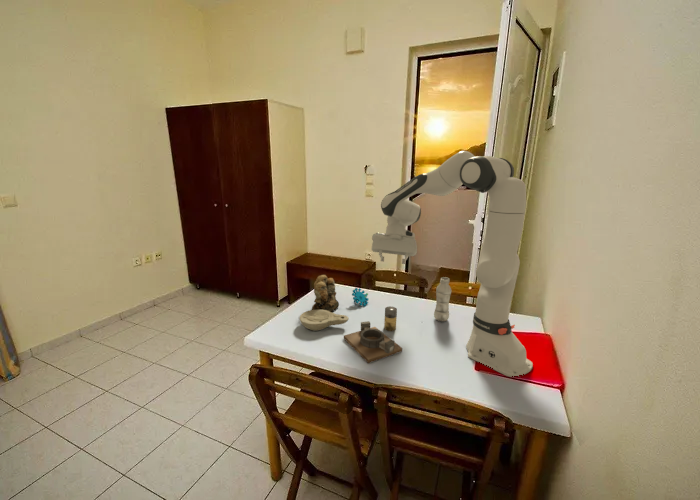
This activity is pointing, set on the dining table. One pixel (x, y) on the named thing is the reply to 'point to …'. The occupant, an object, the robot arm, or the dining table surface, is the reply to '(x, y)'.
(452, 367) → the dining table surface
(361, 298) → the teal virus model
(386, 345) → the shaft seat
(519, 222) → the robot arm
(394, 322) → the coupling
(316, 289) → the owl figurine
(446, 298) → the plastic bottle
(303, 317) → the oil lamp
